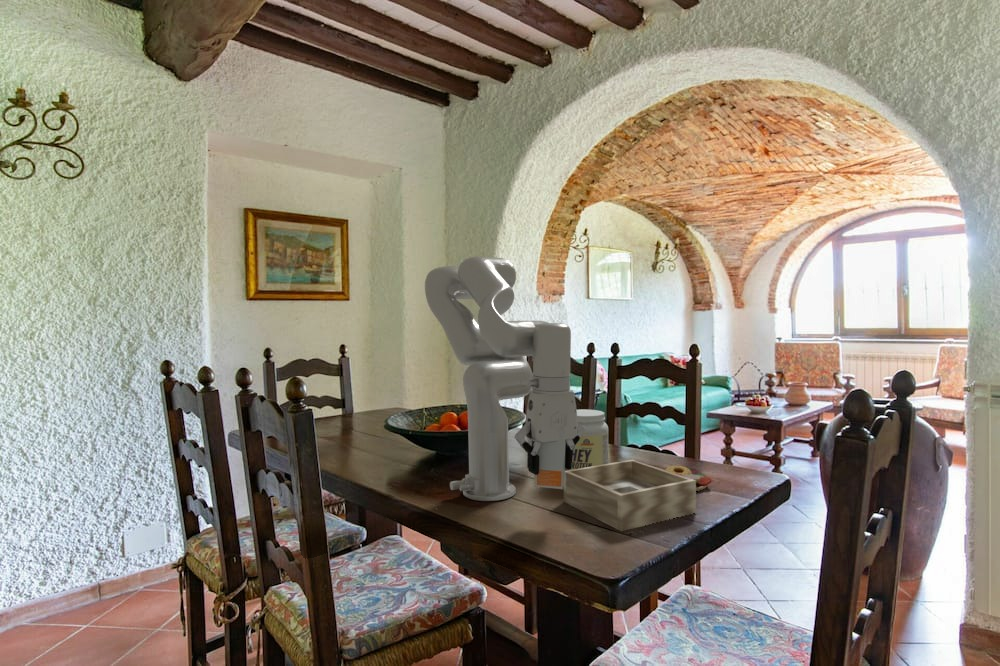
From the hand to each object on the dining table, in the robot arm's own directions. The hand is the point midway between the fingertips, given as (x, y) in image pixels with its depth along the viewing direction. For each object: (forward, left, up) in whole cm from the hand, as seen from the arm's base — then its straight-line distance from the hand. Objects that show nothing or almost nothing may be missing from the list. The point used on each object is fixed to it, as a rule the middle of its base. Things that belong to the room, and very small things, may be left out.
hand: (550, 469), depth 113 cm
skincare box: (0, 0, -3) cm, 3 cm away
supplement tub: (+25, +23, -11) cm, 36 cm away
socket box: (+19, -1, -11) cm, 22 cm away
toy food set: (+41, +5, -11) cm, 43 cm away
